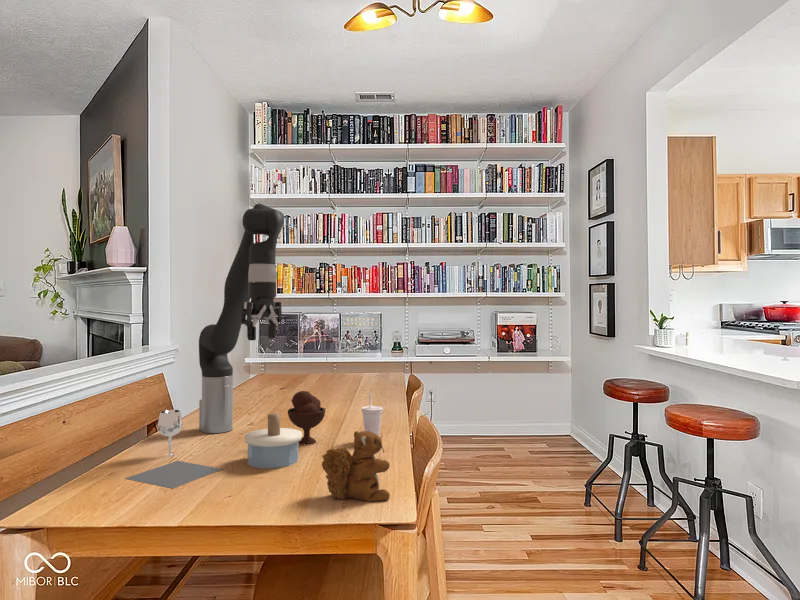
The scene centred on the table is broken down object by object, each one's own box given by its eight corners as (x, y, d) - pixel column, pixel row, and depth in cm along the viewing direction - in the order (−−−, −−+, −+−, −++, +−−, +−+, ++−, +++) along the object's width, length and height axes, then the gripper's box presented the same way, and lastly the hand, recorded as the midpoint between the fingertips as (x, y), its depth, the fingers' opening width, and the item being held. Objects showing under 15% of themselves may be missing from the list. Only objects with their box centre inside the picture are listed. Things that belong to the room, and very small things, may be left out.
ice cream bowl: (318, 448, 150) (319, 394, 150) (280, 446, 152) (281, 392, 152) (331, 439, 160) (331, 388, 160) (295, 437, 162) (295, 387, 162)
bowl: (238, 466, 133) (238, 442, 133) (269, 454, 144) (269, 431, 144) (277, 473, 128) (277, 447, 128) (307, 459, 139) (307, 436, 139)
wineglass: (186, 455, 142) (187, 410, 142) (170, 462, 137) (171, 414, 137) (169, 453, 144) (169, 408, 144) (152, 459, 139) (153, 412, 139)
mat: (124, 480, 122) (124, 478, 122) (177, 463, 136) (177, 460, 136) (172, 491, 116) (172, 488, 116) (223, 471, 129) (223, 468, 129)
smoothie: (361, 438, 161) (361, 391, 161) (382, 438, 162) (382, 391, 162) (361, 444, 155) (361, 395, 155) (383, 443, 155) (384, 394, 155)
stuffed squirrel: (393, 500, 111) (393, 436, 111) (324, 506, 108) (324, 440, 108) (383, 484, 121) (384, 425, 121) (320, 489, 117) (320, 428, 117)
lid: (232, 442, 133) (232, 417, 133) (269, 430, 146) (269, 407, 146) (278, 449, 127) (279, 422, 127) (313, 436, 140) (313, 411, 140)
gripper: (268, 281, 158) (268, 337, 158) (233, 280, 146) (233, 340, 146) (289, 281, 155) (288, 338, 155) (255, 279, 142) (255, 341, 142)
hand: (262, 339), depth 150 cm, fingers open, 8 cm apart
